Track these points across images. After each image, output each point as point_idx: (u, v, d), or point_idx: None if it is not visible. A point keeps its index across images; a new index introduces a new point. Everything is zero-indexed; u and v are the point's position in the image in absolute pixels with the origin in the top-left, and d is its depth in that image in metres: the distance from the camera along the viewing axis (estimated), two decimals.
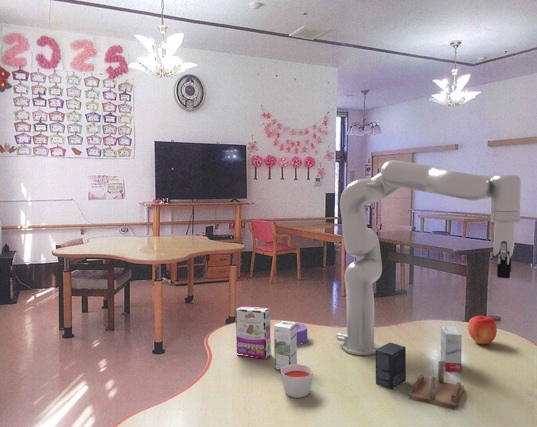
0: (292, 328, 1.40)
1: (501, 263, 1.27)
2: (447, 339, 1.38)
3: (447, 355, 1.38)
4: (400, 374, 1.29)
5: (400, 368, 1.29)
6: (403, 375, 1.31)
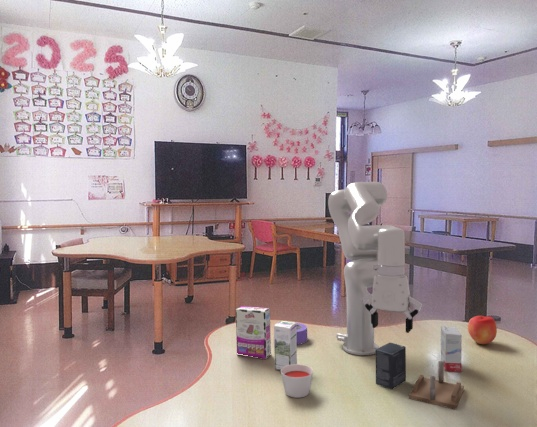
0: (292, 328, 1.40)
1: (412, 317, 1.26)
2: (447, 339, 1.38)
3: (447, 355, 1.38)
4: (400, 374, 1.29)
5: (400, 368, 1.29)
6: (403, 375, 1.31)
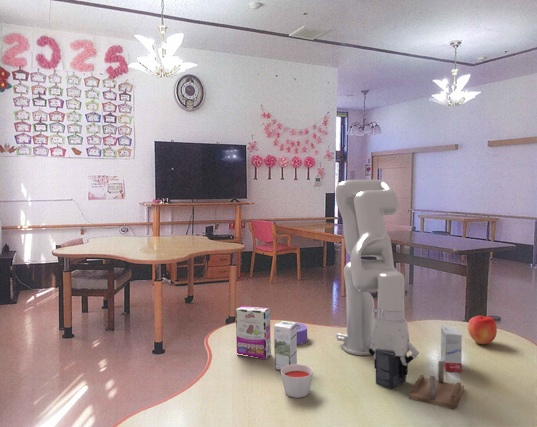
0: (292, 328, 1.40)
1: None
2: (447, 339, 1.38)
3: (447, 355, 1.38)
4: (400, 374, 1.29)
5: (400, 368, 1.29)
6: None
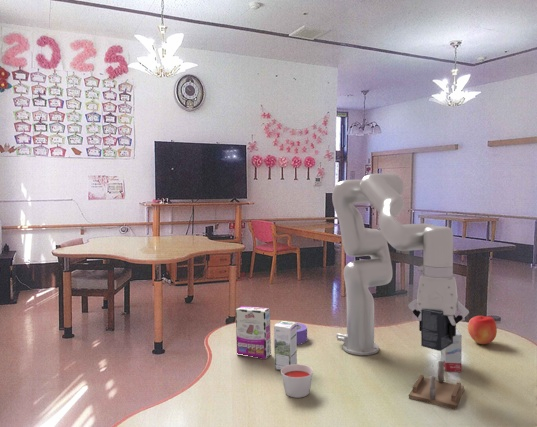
0: (292, 328, 1.40)
1: None
2: None
3: (447, 355, 1.38)
4: (447, 336, 1.21)
5: (448, 329, 1.21)
6: None
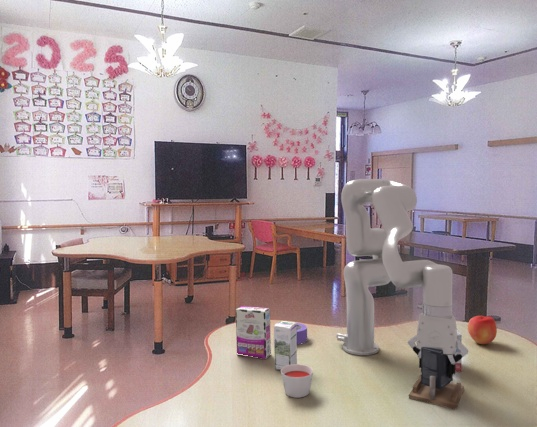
0: (292, 328, 1.40)
1: None
2: None
3: None
4: (447, 374, 1.22)
5: (448, 367, 1.22)
6: None
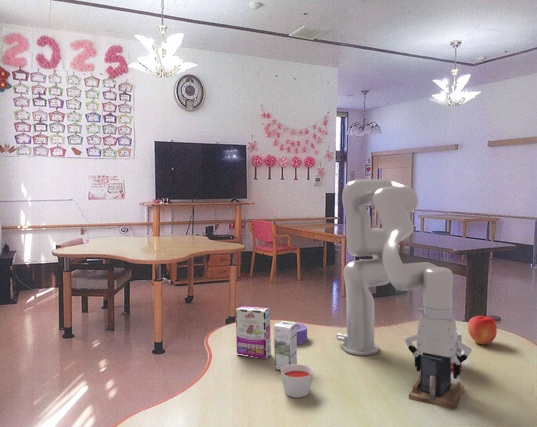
0: (292, 328, 1.40)
1: (460, 363, 1.20)
2: None
3: None
4: (446, 381, 1.22)
5: (446, 374, 1.23)
6: (449, 381, 1.24)
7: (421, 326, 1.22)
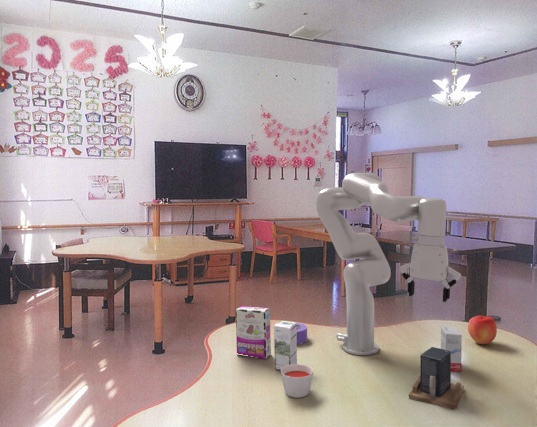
0: (292, 328, 1.40)
1: None
2: (447, 339, 1.38)
3: None
4: (446, 381, 1.22)
5: (446, 374, 1.23)
6: (449, 381, 1.24)
7: (414, 253, 1.30)
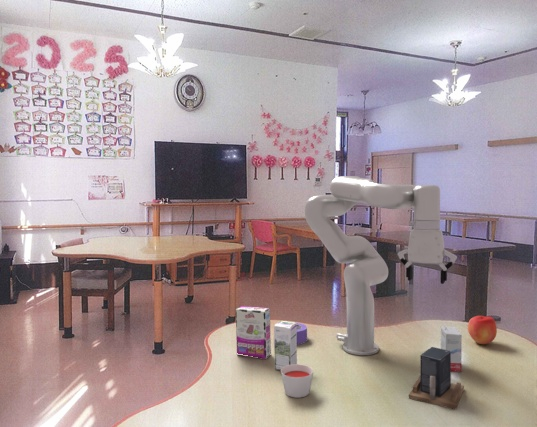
0: (292, 328, 1.40)
1: None
2: (447, 339, 1.38)
3: None
4: (446, 381, 1.22)
5: (446, 374, 1.23)
6: (449, 381, 1.24)
7: (412, 238, 1.36)
